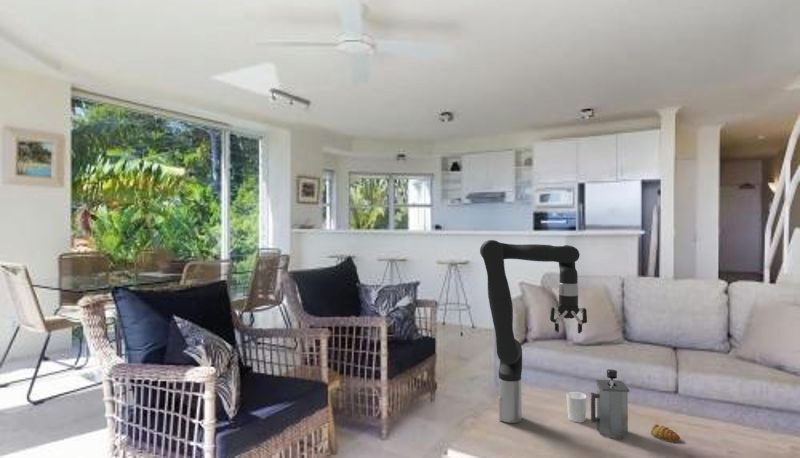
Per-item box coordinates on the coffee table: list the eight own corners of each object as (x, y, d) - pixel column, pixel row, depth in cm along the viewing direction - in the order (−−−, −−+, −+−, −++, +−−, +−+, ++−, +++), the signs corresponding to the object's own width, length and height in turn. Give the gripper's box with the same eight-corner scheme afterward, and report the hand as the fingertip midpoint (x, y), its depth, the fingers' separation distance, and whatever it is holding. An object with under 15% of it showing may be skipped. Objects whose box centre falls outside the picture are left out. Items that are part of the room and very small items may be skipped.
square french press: (594, 437, 178) (594, 388, 178) (588, 425, 188) (588, 379, 187) (630, 439, 176) (630, 389, 175) (622, 427, 186) (621, 380, 185)
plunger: (603, 413, 178) (603, 373, 178) (598, 405, 186) (598, 367, 186) (626, 414, 177) (626, 374, 176) (620, 406, 185) (619, 367, 184)
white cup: (583, 415, 198) (583, 391, 198) (589, 423, 190) (589, 399, 190) (564, 414, 199) (564, 391, 198) (569, 423, 191) (569, 398, 191)
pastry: (683, 440, 175) (683, 429, 175) (675, 445, 171) (675, 435, 171) (657, 431, 183) (657, 421, 183) (648, 436, 179) (648, 426, 179)
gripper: (551, 294, 192) (551, 334, 192) (588, 295, 189) (588, 335, 190) (549, 291, 199) (549, 329, 200) (584, 292, 197) (584, 330, 197)
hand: (568, 332), depth 195 cm, fingers open, 8 cm apart
